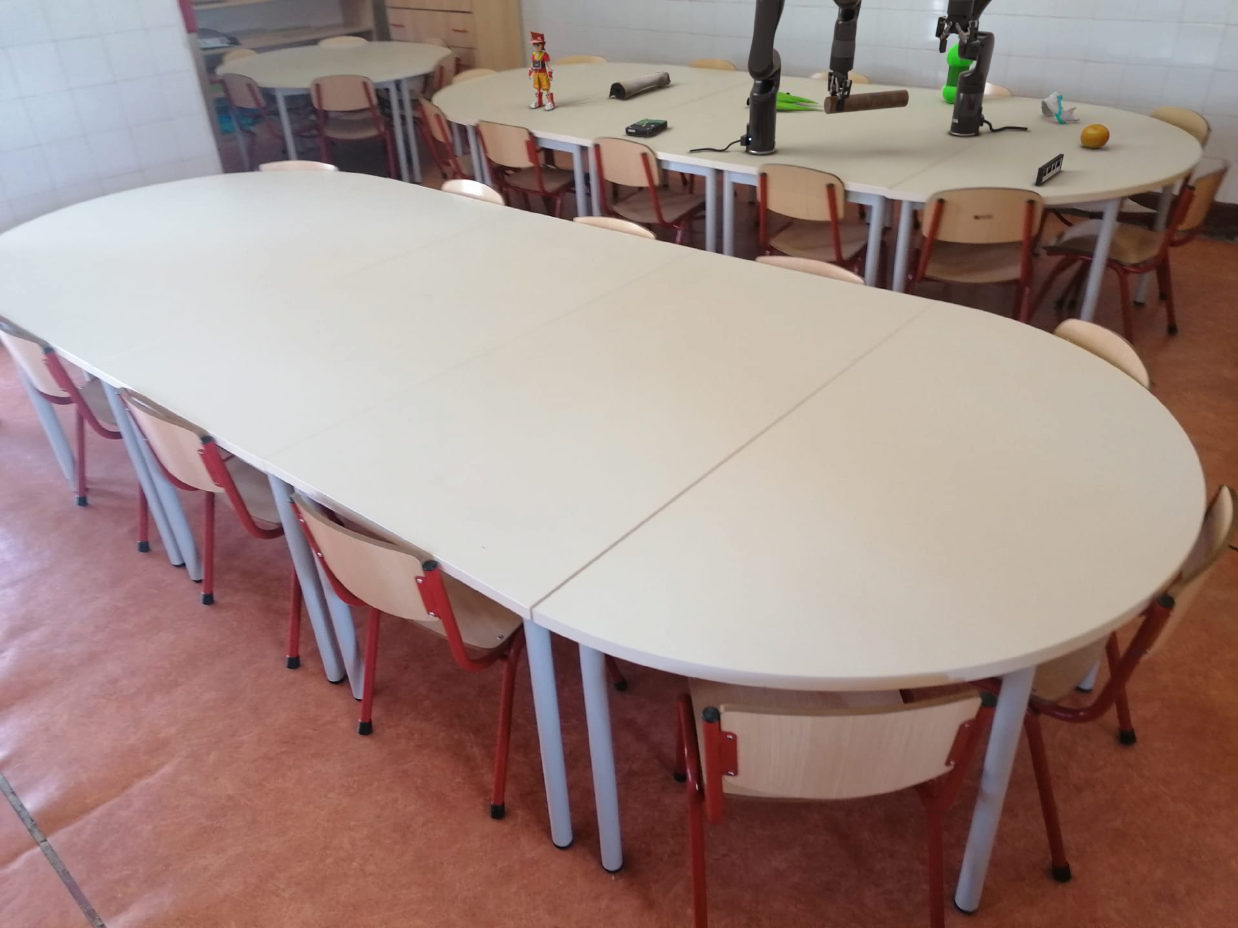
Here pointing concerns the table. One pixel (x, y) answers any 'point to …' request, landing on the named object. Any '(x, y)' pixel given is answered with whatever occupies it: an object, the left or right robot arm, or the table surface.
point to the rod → (868, 101)
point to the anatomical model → (1057, 108)
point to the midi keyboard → (1049, 169)
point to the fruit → (1095, 136)
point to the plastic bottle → (954, 73)
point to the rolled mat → (638, 84)
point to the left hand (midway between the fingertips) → (836, 109)
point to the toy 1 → (541, 71)
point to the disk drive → (646, 127)
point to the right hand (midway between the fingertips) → (953, 54)
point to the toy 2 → (789, 102)
